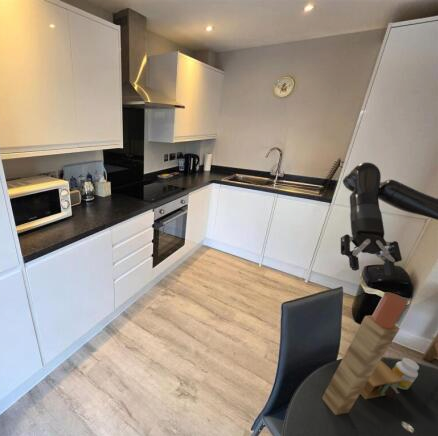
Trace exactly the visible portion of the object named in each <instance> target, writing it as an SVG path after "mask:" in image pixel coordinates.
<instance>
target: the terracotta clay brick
mask: <svg viewBox="0 0 438 436" xmlns="http://www.w3.org/2000/svg"><path fill="white" fill-rule="evenodd" d="M408 304H409V302H408V300H407V299H406V298H404V297H402V296H401V295H399V294H396V293H394V292H388V291H386V292H384V293H383V295H382V296H381V298H380V300H379V302H378V304H377V306H376V308H375V309H374V311H373V313H372V317H371V318H372V320H373V321H374V322H375V323H376V324H378V325H380V326H382V327H384V328H388V329H392V328H393V327H394V325H395V326H396V324H397V322H398V320H399V319H400V317H401V316H402V314H403V312H404V311H405V309H406V307H407V305H408Z"/></svg>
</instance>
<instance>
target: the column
mask: <svg viewBox="0 0 438 436" xmlns="http://www.w3.org/2000/svg"><path fill="white" fill-rule="evenodd" d="M372 315H373V314H372ZM372 315H365V316H364V317H363V319H362V321H361V323H360V325H359V326H358V328H357V330H356V332H355V335H354V337H353V338H352V340H351V341H350V344H349V346H348V348H347V349H346V351H345V353H344V355H343V357H342V358H341V361H340V363H339V365H338V366H337V368H336V371H335V372H334V374H333V376H332V378H331V379H330V381H329V384H328V386H327V388H326V390H325V391H324V393H323V395H322V397H321V399H322V401H323V402H324V403H325V404H326V405H327V407H328V408H329V409H330V410H331V412H332V413H333V414H334V416H337V415H338V416H339V415H343V414H348V413H350V411H351V409H352V408H353V406H354V404H355V402H356V401H357V399H358V398H359V396H360V395H361V394H360V393H361V391H362V389H363V388H364V386H365V385H366V383H367V381H368V380H369V378H370V376H371V375H372V373H373V372H374V370H375V368H376V367H377V365H378V363H379V362H380V360H381V361H382V359H383V357H384V356H385V354H386V353H387V350H388V349H389V347H390V346H391V344H392V342H393V341H394V340H395V338H396V336H397V334H398V332H400V329H401V328H399V327H398V326H396V324H395V325H394V327H393V328H392V329H388V328H384V327H382V326H380V325H378V324H376V323H375V322H374V321H373V320H372V318H371V317H372Z"/></svg>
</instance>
